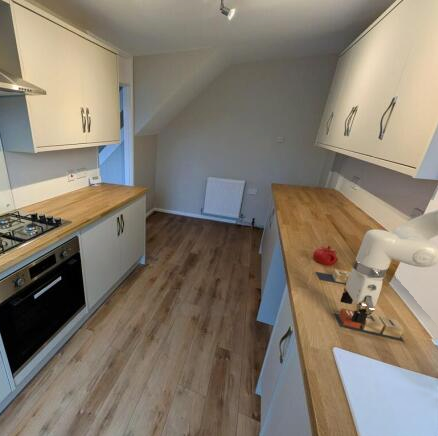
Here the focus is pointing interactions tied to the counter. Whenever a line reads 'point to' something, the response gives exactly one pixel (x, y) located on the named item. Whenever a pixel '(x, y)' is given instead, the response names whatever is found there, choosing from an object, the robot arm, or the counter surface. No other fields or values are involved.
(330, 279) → the word mat
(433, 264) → the robot arm
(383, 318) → the tile
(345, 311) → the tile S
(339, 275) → the tile
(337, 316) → the word mat
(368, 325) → the tan wooden cube
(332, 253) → the pomegranate
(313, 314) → the counter surface
